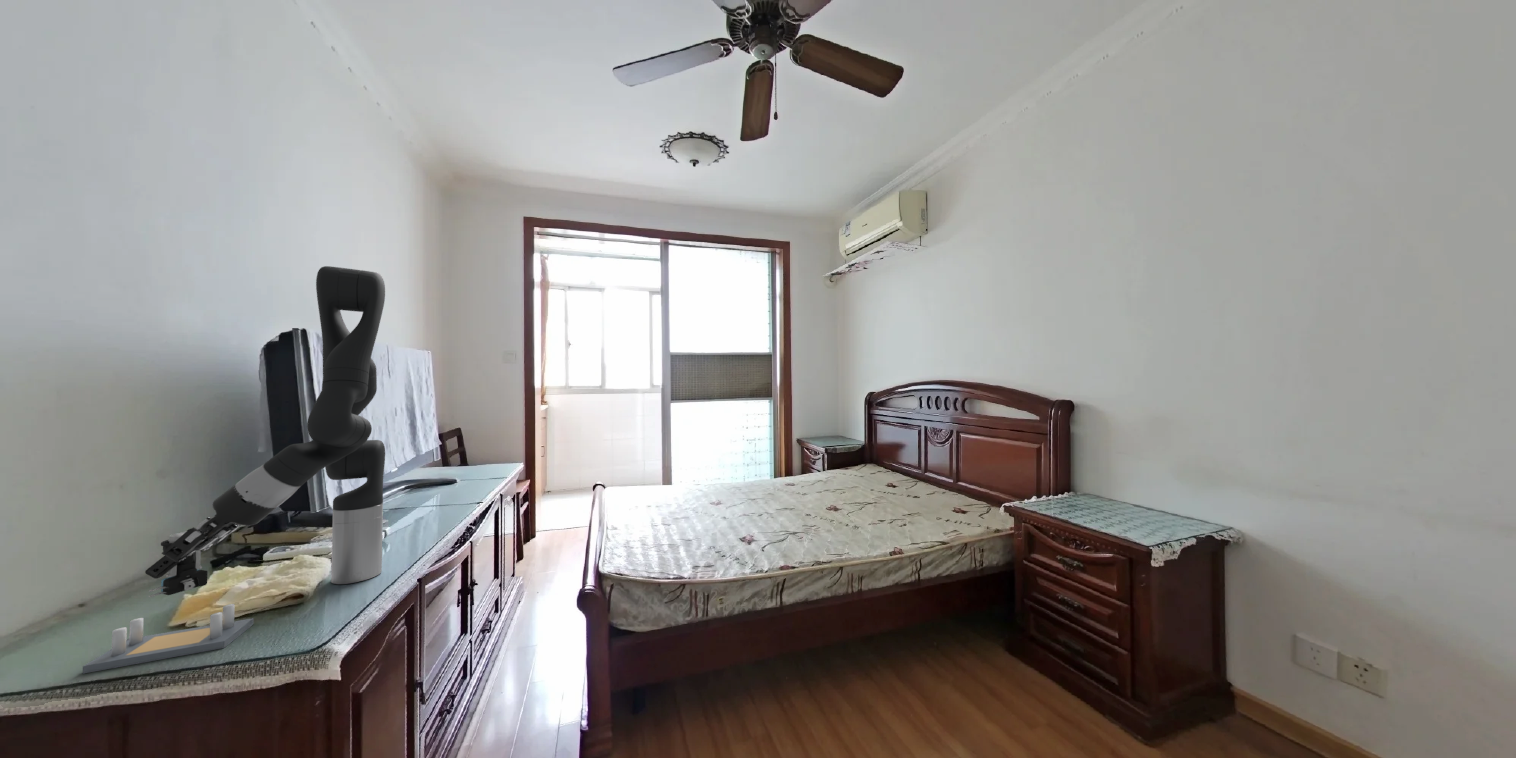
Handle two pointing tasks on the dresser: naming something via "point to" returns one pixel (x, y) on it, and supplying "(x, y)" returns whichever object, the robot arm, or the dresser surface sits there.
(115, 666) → the pin tray
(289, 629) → the dresser surface
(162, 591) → the push button
